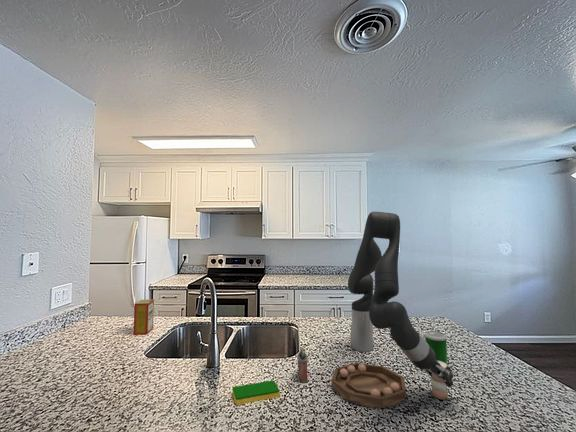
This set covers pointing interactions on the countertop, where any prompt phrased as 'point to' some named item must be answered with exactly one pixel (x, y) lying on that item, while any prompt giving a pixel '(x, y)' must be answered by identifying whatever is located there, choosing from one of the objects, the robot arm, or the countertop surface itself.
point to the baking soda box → (143, 317)
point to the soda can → (437, 344)
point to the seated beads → (374, 392)
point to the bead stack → (439, 385)
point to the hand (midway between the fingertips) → (443, 381)
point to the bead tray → (369, 386)
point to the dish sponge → (255, 392)
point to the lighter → (302, 366)
